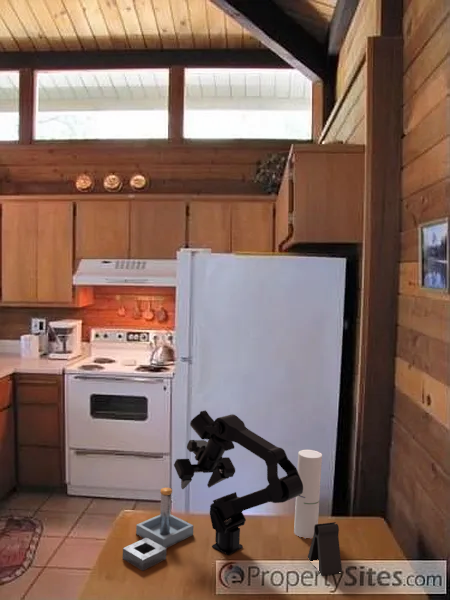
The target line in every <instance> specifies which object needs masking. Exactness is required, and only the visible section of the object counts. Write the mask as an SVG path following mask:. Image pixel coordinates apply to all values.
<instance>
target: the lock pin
mask: <svg viewBox="0 0 450 600" xmlns="http://www.w3.org/2000/svg"><path fill="white" fill-rule="evenodd" d="M172 493H173V489H172V488H170V487H162V488H160V514H159V515H160V534H161V535H168V534H170V515H172V513H171V510H172V509H171V508H172Z"/></svg>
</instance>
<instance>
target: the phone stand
mask: <svg viewBox="0 0 450 600" xmlns="http://www.w3.org/2000/svg"><path fill="white" fill-rule="evenodd" d="M339 531H340V528H339V524H338V523H336V521H334V522H325V523H318V524H315V526H314V536H313V538H311V544H310V547H309V550H308V555H307V557H308V558H309V560H310V561H313V560H317V559H318V560H319V571H320V573H321V575H320V576H321V577H323V576H330V575H331V574H332V575H336V574H335V573H338V574H340V573H339V572H342V573H343V568H342V559H341V548H340V539H339V533H340V532H339ZM308 558H307V559H308ZM309 560H308V561H309ZM310 561H309V562H310ZM320 573H319V574H320Z"/></svg>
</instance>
